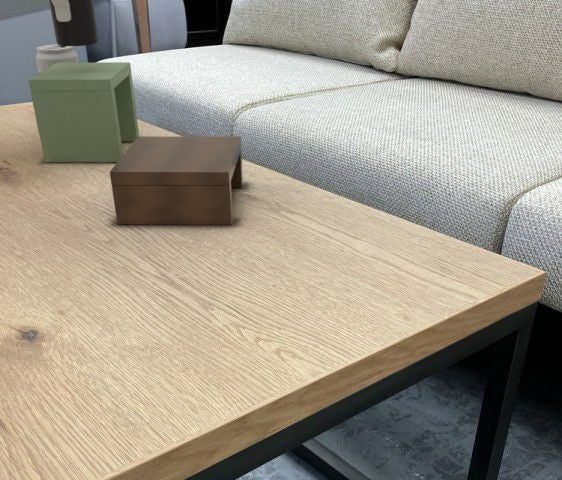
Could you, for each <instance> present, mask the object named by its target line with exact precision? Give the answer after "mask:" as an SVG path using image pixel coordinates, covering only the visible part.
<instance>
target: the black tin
mask: <svg viewBox="0 0 562 480" xmlns="http://www.w3.org/2000/svg"><path fill="white" fill-rule="evenodd" d="M48 1H49V3H48V4H49V8H50V13H51V19H52V24H53V30H54V36H55V41H56V44H57V45H60V46H74V47H83V46H85V47H86V46H91V45H96V44H98V43H99V42H100V41H99V40H100V39H99V34H98V27H97V19H96V13H95V7H94V0H68V1H69V5H71V6H72V13H73V19H72V20H70V21H68V22H60V21H58V20H57V18H56V13H55V7H54V5H53V3H52V0H48Z"/></svg>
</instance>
